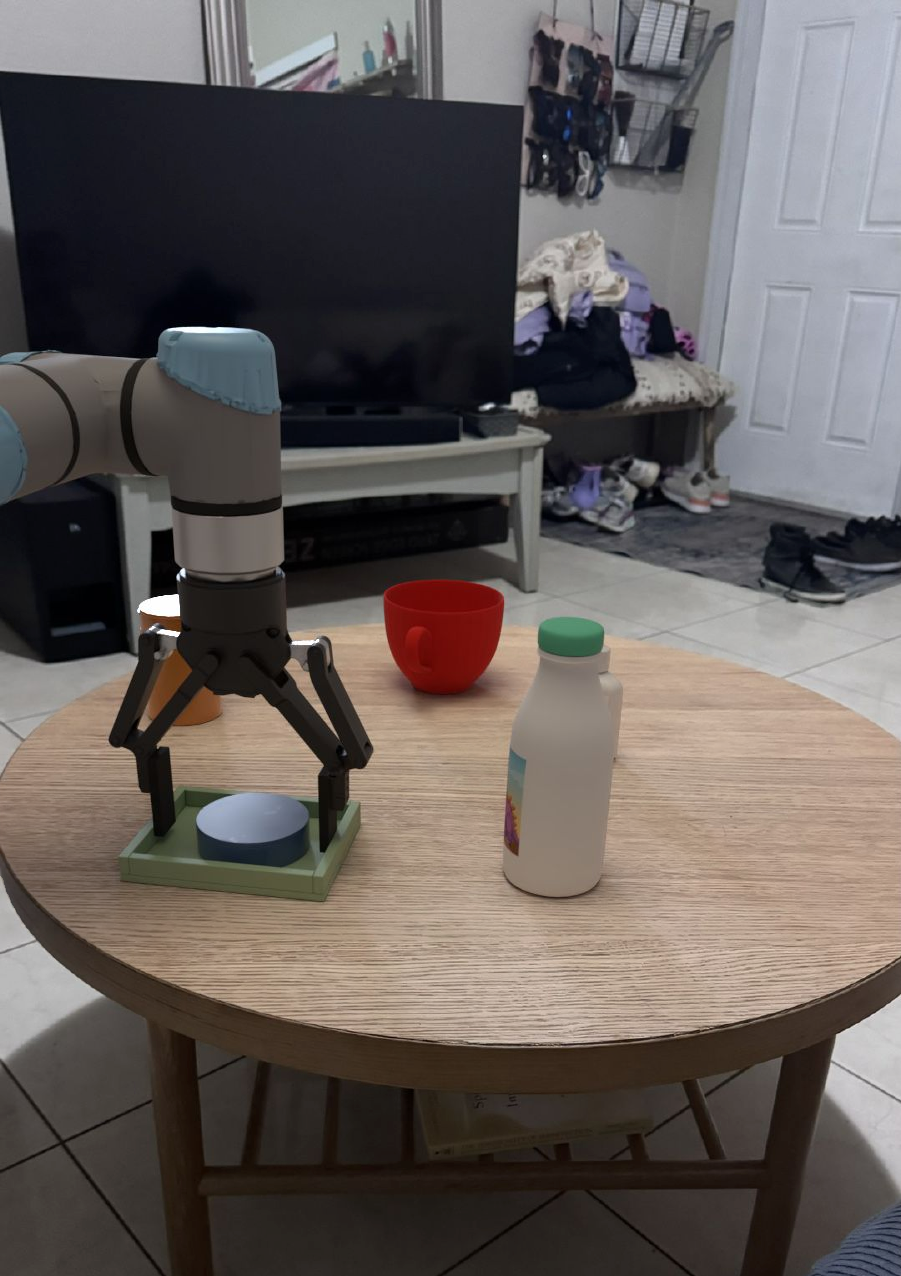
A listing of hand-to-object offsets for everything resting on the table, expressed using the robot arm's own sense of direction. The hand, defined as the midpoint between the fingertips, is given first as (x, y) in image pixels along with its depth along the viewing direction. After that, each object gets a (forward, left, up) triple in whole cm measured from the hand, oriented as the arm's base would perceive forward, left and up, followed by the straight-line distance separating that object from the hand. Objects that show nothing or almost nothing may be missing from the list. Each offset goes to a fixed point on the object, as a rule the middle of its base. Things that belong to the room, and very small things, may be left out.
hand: (246, 837), depth 88 cm
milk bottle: (+24, +1, -1) cm, 24 cm away
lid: (+1, 0, +1) cm, 2 cm away
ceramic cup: (+9, +39, -1) cm, 40 cm away
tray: (0, 0, -1) cm, 1 cm away
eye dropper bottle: (+26, +25, -1) cm, 36 cm away
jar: (-15, +27, -1) cm, 31 cm away
